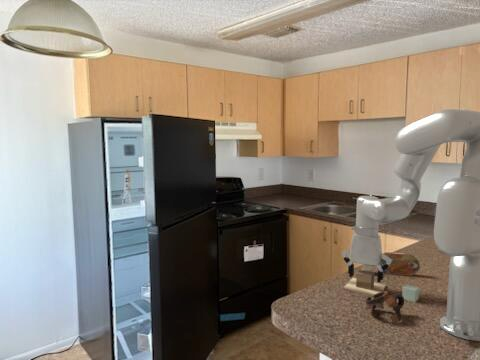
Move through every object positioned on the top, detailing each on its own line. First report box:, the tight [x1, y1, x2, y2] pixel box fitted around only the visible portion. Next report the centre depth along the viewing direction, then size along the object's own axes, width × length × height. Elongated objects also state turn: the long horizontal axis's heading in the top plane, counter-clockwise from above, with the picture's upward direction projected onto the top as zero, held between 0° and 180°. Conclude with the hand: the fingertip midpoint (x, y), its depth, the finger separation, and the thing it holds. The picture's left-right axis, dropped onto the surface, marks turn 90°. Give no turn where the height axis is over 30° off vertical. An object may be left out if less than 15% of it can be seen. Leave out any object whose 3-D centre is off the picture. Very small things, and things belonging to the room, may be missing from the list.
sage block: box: [401, 283, 420, 303], centre depth 121 cm, size 4×4×4 cm
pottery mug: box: [364, 290, 405, 325], centre depth 110 cm, size 12×10×8 cm
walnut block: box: [355, 268, 376, 290], centre depth 130 cm, size 5×5×5 cm
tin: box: [381, 251, 420, 277], centre depth 144 cm, size 15×3×8 cm, turn 73°
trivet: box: [342, 277, 387, 297], centre depth 130 cm, size 12×12×1 cm
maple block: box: [361, 264, 375, 272], centre depth 145 cm, size 4×4×4 cm
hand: (365, 278), depth 130 cm, fingers open, 9 cm apart
